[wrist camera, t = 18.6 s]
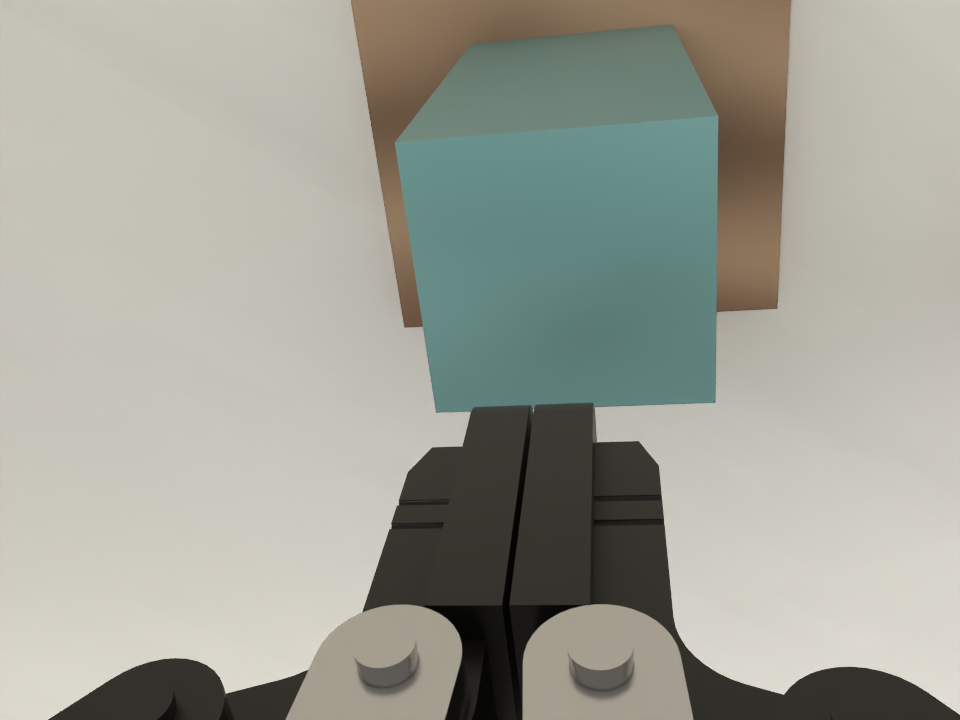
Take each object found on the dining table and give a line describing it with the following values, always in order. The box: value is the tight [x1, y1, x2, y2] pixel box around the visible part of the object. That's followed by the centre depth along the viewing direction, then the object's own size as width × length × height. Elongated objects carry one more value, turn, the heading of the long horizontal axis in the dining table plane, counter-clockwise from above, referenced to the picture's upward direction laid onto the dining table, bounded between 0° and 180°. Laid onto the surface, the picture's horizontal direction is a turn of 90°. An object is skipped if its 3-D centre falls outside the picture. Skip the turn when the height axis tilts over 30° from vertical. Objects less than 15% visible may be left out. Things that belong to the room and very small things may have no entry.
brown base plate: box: [351, 0, 791, 327], centre depth 24 cm, size 12×12×8 cm
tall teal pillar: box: [395, 24, 718, 413], centre depth 22 cm, size 6×6×11 cm
